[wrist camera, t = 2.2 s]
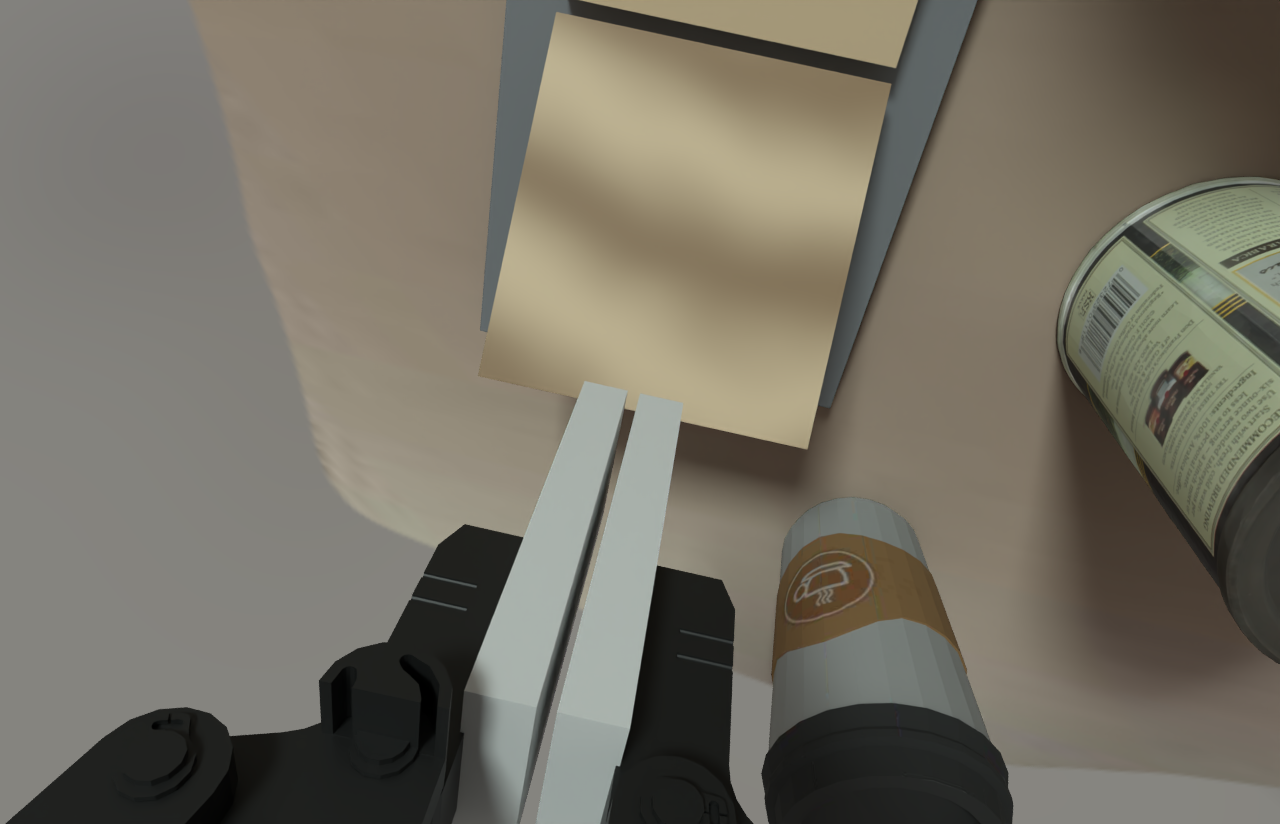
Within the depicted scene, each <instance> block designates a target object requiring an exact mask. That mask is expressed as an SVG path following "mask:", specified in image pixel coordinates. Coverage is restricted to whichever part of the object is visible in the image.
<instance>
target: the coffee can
mask: <svg viewBox="0 0 1280 824" xmlns="http://www.w3.org/2000/svg"><path fill="white" fill-rule="evenodd" d="M1057 344H1058V349H1059V352H1060V355H1061V360H1062V363H1063V365H1064V368H1065V370H1066V372H1067V374H1068V375H1069V377H1070V379H1071V380H1072V382H1073V383H1074V385H1075V386H1076V387H1077V388H1078V389H1079V390H1080V391H1081V393H1082V394H1083V395H1085V397H1086V398H1087V400H1088V401H1089V403H1090V404H1091V405H1092V407H1093V408H1094V410H1095V411H1096V413H1097V414H1098V415H1099V417H1100V418H1101V419H1102V421H1103V422H1104V424H1105V425H1106V427H1107V428H1108V430H1109V431H1110V432H1111V434H1112V435H1113V437H1114V438H1115V439H1116V441H1117V442H1118V444H1119V445H1120V446H1121V448H1122V449H1123V451H1124V452H1125V453H1126V455H1127V456H1128V458H1129V459H1130V461H1131V462H1132V463H1133V465H1134V466H1135V468H1136V469H1137V470H1138V472H1139V473H1140V475H1141V476H1142V478H1143V479H1144V480H1145V482H1146V483H1147V485H1148V486H1149V487H1150V489H1151V490H1152V492H1153V493H1154V495H1155V496H1156V498H1157V499H1158V501H1159V503H1160V504H1161V505H1162V507H1163V508H1164V510H1165V511H1166V513H1167V514H1168V516H1169V517H1170V519H1171V520H1172V521H1173V522H1174V524H1175V525H1176V527H1177V528H1178V529H1179V531H1180V532H1181V534H1182V535H1183V537H1184V538H1185V539H1186V541H1187V542H1188V544H1189V545H1190V547H1191V548H1192V549H1193V551H1194V552H1195V554H1196V555H1197V556H1198V558H1199V559H1200V561H1201V562H1202V564H1203V566H1204V567H1205V568H1206V570H1207V571H1208V572H1209V574H1210V575H1211V577H1212V578H1213V579H1214V581H1215V582H1216V584H1217V585H1218V586H1219V588H1220V590H1221V594H1222V597H1223V599H1224V602H1225V604H1226V606H1227V608H1228V610H1229V612H1230V614H1231V615H1232V617H1233V618H1234V620H1235V622H1236V623H1237V625H1238V626H1239V628H1240V630H1241V631H1242V632H1243V633H1244V635H1245V636H1246V637H1247V638H1248V639H1249V641H1250V642H1251V643H1252V644H1253V645H1254V646H1256V647H1257V648H1258V650H1260V651H1261V652H1262V653H1263V654H1265V655H1266V656H1268V657H1269V658H1271V659H1272V660H1274V661H1275V662H1277V663H1278V664H1280V180H1275V179H1269V178H1262V177H1233V178H1223V179H1217V180H1213V181H1208V182H1202V183H1196V184H1192V185H1190V186H1187V187H1185V188H1183V189H1180V190H1178V191H1175V192H1172V193H1169V194H1167V195H1165V196H1162V197H1160V198H1158V199H1156V200H1154V201H1152V202H1150V203H1148V204H1146V205H1144V206H1143V207H1141V208H1140V209H1138V210H1137V211H1135V212H1133V213H1132V214H1131V215H1129V216H1128V217H1126V218H1125V219H1123V220H1122V221H1121V222H1119V223H1118V224H1117V225H1116V226H1115V227H1113V228H1112V229H1111V230H1110V231H1109V232H1108V233H1107V234H1106V235H1104V236H1103V237H1102V239H1101V240H1100V241H1099V242H1098V243H1097V244H1096V245H1095V246H1094V247H1093V248H1092V249H1091V250H1090V251H1089V253H1088V255H1087V256H1086V257H1085V259H1084V260H1083V261H1082V263H1081V265H1080V266H1079V268H1078V269H1077V271H1076V272H1075V274H1074V276H1073V277H1072V279H1071V281H1070V283H1069V285H1068V288H1067V290H1066V292H1065V295H1064V298H1063V301H1062V304H1061V308H1060V313H1059V319H1058V336H1057Z"/></svg>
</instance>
